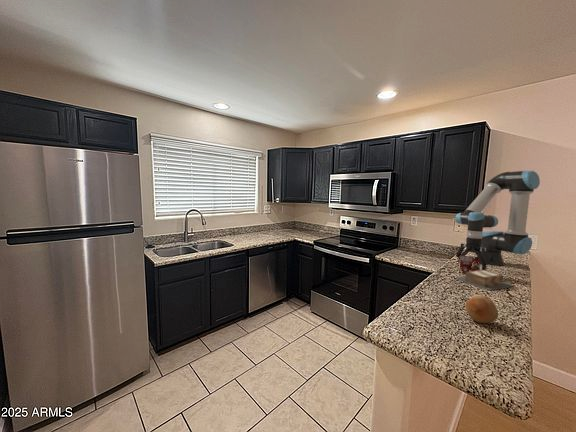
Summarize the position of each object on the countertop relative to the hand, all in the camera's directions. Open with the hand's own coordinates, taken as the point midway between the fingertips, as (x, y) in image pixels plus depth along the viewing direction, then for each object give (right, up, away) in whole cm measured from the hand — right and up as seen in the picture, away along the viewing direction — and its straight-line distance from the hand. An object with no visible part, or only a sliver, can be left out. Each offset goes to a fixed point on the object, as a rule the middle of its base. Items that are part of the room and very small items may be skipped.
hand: (470, 271), depth 151 cm
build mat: (-4, -3, -15) cm, 16 cm away
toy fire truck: (0, -1, 0) cm, 1 cm away
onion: (-40, -6, -57) cm, 69 cm away
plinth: (-6, -3, -17) cm, 18 cm away
